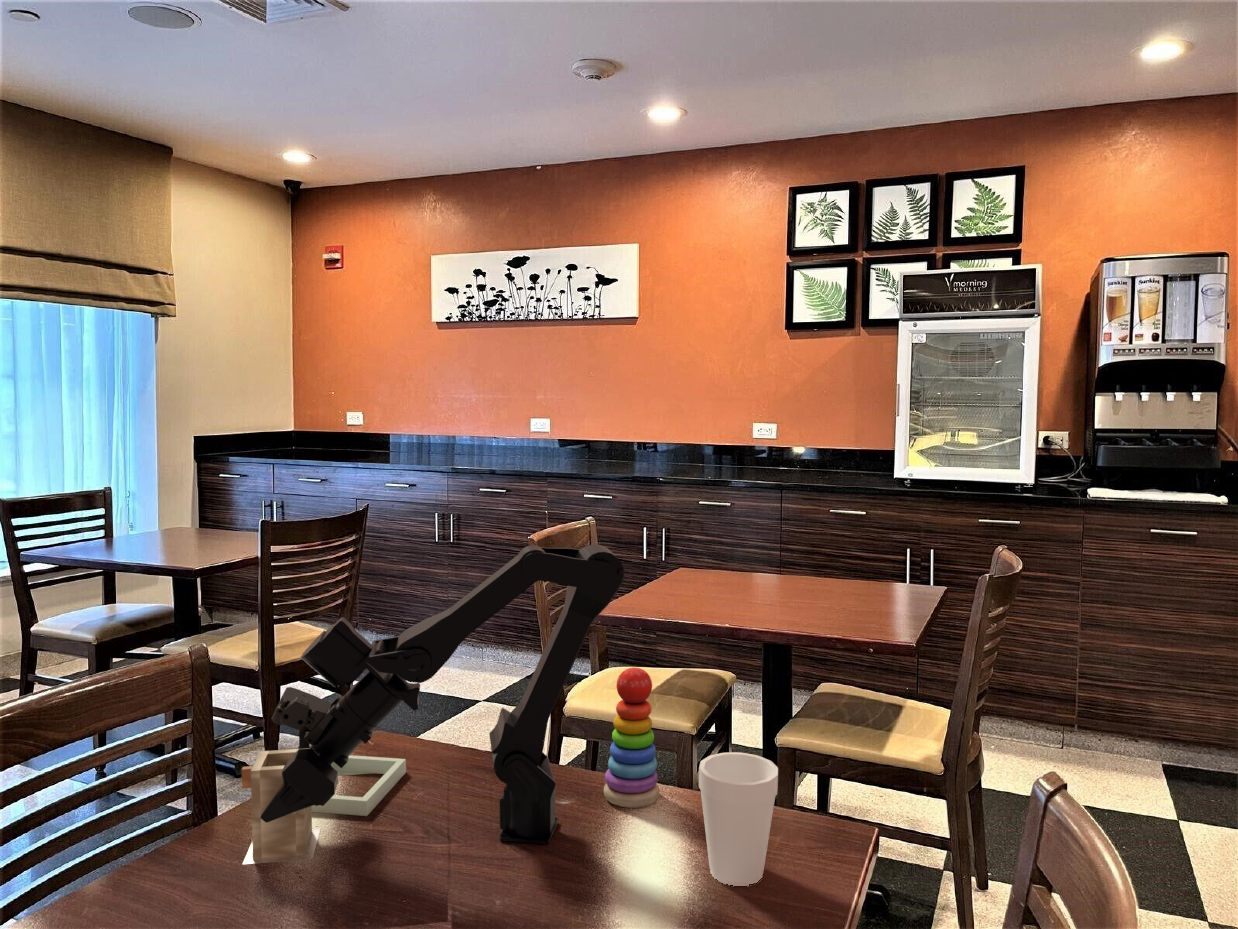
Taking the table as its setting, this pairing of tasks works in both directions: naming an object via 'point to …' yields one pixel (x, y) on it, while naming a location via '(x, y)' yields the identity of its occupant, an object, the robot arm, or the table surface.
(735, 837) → the foam cup
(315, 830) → the stand
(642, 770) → the stacking toy
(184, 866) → the table surface
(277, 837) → the birch sleeve
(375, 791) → the green tray
